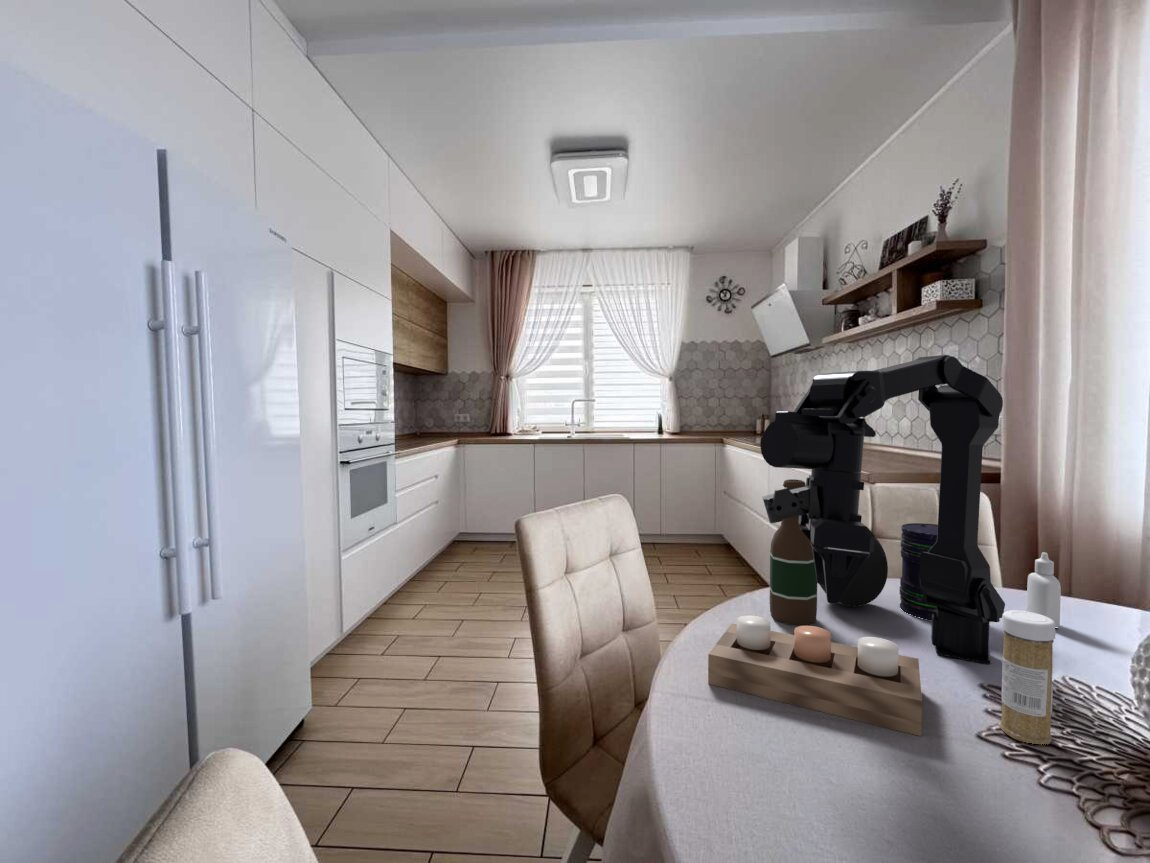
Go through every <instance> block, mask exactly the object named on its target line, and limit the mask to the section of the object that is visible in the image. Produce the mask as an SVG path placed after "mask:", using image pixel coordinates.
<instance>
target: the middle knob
mask: <svg viewBox="0 0 1150 863" xmlns="http://www.w3.org/2000/svg"><path fill="white" fill-rule="evenodd" d="M793 635H794V653H795V655H796V656H797V657H799V658H801V659H803V660H806V661H810V662H827V661H829V660H830V659H831V642H832V634H831V632H830V631H829V630H827V629H825V628H822V627H819V626H816V625H815V626H813V625H806V626H802V625H797V627H795V628H794V634H793Z"/></svg>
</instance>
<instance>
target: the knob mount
mask: <svg viewBox="0 0 1150 863" xmlns="http://www.w3.org/2000/svg"><path fill="white" fill-rule="evenodd" d="M707 655H708V658H707V660H708V663H707V664H708V666H707V668H708V670H707V671H708V673H707V679H708V680H707V681H708V682H707V683H708V685H712V686H716V687H721V688H724V689H729V690H731V691H737V692H739V693H740V692H741V693H744V694H747V695H753V696H756V697H760V698H765V699H769V700H773V701H776V702H781V703H783V704H784V703H785V704H788V705H789V704H790V705H793V706H797V707H801V708H805V709H810V710H814V711H818V712H821V713H826V714H829V715H834V716H837V717H842V718H846V719H850V720H854V721H858V722H863V723H866V724H871V725H874V726H878V727H882V728H887V729H891V730H895V731H899V732H903V733H906V734H911V735H915V736H919V737H922V729H923V728H922V724H923V723H922V722H923V721H922V720H923V716H922V715H923V697H922V696H923V694H922V686H921V684H922V683H921V674H920V663H919V662H920V661H919V658H916V657H912V656H906V655H902V654H898V674H897V675H895V676H888V677H887V676H878V675H873V674H870V673H868V672H865V671H863V670H862V669H860V668H859V667H858V646H853V645H847V644H842V643H837V642H833V641H831V659H830V660H829V661H827V662H810V661H806V660H803V659H801V658H799V657H797V656H796V655H795V653H794V634H790V633H789V634H788V633H785V632H779V631H774V630H771V633H770V647H769V648H767V649H763V650H753V649H748V648H745V647H742V646H740V645H739V644H738V643H737V623H731V624H730V625H728V628H727V629H726V630H725V632H724V633H723V634H722V635H721V636H720V638H719V639H718V640H717V642H715V645H713V647H712V648H711V650H710V651H709V652H708V653H707Z"/></svg>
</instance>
